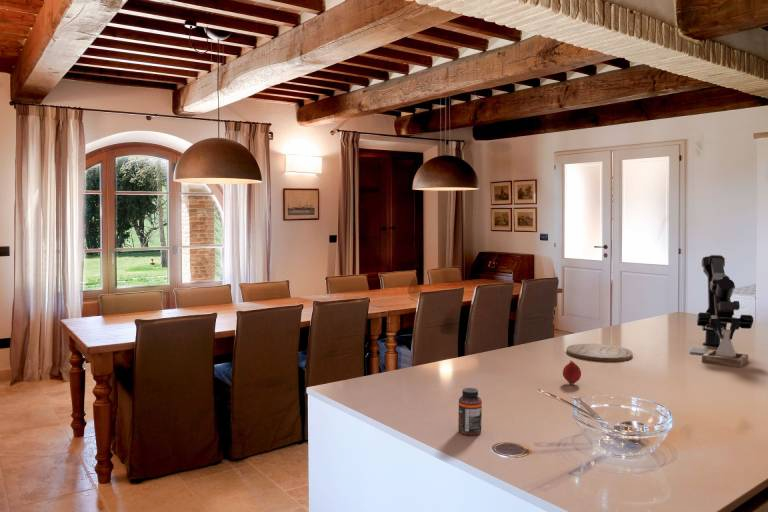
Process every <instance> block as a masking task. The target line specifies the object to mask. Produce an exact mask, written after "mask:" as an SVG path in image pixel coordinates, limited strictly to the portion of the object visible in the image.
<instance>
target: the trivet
mask: <svg viewBox="0 0 768 512" xmlns="http://www.w3.org/2000/svg"><path fill="white" fill-rule="evenodd" d="M566 354H567V355H569V356H571V357H573V358H576V359H580V360H585V361H591V362H603V363H608V362H609V363H615V362H616V363H617V362H625V361H630V360H632V359H633V357H634V353H633V351H632V350H630V349H628V348H625V347H622V346H618V345H612V344H603V343H576V344H571V345H568V346H567V347H566Z"/></svg>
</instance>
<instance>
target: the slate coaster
mask: <svg viewBox="0 0 768 512" xmlns="http://www.w3.org/2000/svg"><path fill="white" fill-rule="evenodd" d="M709 350H712V349H711V348H710V349H709V348H700V347H691V349H690V351H689V354H690V355H699V356H702V355H703V354H705V353H706V352H708V351H709Z"/></svg>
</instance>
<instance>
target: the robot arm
mask: <svg viewBox="0 0 768 512" xmlns="http://www.w3.org/2000/svg"><path fill="white" fill-rule="evenodd" d="M725 260H726V259H725V257H724V256H723V255H722V254H721V255H720V254H711V255H708V256H704V257H702V259H701V267H702V269H703V273H704V274H705V275H706V277H707V300H708V301H707V304H708V307H707V309H706V311H705V312H698V314H697V318H696V325H697V326H699V327H701V330H702V331H704V332H705V339H704V340H705V341H704V342H703V343H702V345H705V346H711V347H712V346H713V347H717V348H718V347H719V345H720V342H721V340H722V334H723V332H722V330H723V329H727V327H728V324H730V325H729V326H730V327H729V330H731V332H730V340H731V341H732V340H733V336H734V333H735V332H736V330H739V329H747V330H749V329H752V326H753V323H754V316H753V315H751V314H740V317H733V316H734V315H735V311H739V310H740V305H741V304H740V301H739V300H733V301H732V300H731V298H732V296H733V293H734V290H735V289H736V285H735V282H734V281H733V280H732V279H730V277H729V276H728V275H726V274H725V273H726V272H725V265H726V264H725V263H726V261H725Z"/></svg>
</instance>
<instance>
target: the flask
mask: <svg viewBox="0 0 768 512" xmlns="http://www.w3.org/2000/svg"><path fill="white" fill-rule="evenodd" d="M730 332H731V330H730V329H727V328H726V329H723V330H722V339H720V345H719V347H718V346H717V349H716V350H717V352H716V356H720V357H729V358H732V357H736V353H737V352H736V350H735V347H734V345H733V342H732V340H730Z"/></svg>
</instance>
